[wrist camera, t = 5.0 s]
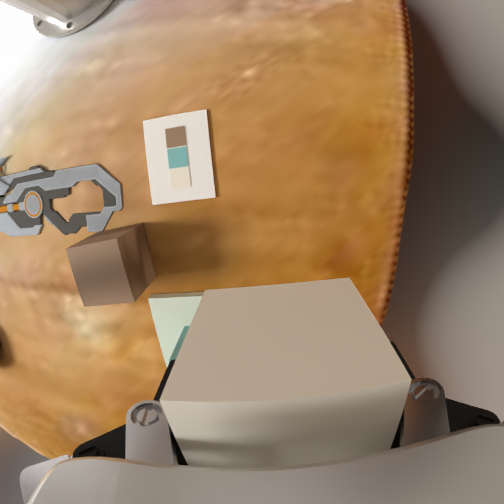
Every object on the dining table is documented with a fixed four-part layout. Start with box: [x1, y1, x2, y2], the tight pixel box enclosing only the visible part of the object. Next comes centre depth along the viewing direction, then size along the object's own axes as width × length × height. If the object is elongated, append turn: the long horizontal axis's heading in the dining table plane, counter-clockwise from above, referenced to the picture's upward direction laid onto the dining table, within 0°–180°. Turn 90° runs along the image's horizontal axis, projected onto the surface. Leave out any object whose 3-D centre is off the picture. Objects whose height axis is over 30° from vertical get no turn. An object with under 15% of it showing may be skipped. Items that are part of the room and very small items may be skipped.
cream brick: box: [159, 278, 412, 467], centre depth 9 cm, size 6×6×6 cm
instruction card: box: [143, 110, 216, 205], centre depth 26 cm, size 8×6×1 cm
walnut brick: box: [66, 223, 157, 307], centre depth 26 cm, size 6×6×6 cm
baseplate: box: [148, 292, 204, 367], centre depth 31 cm, size 12×12×1 cm
